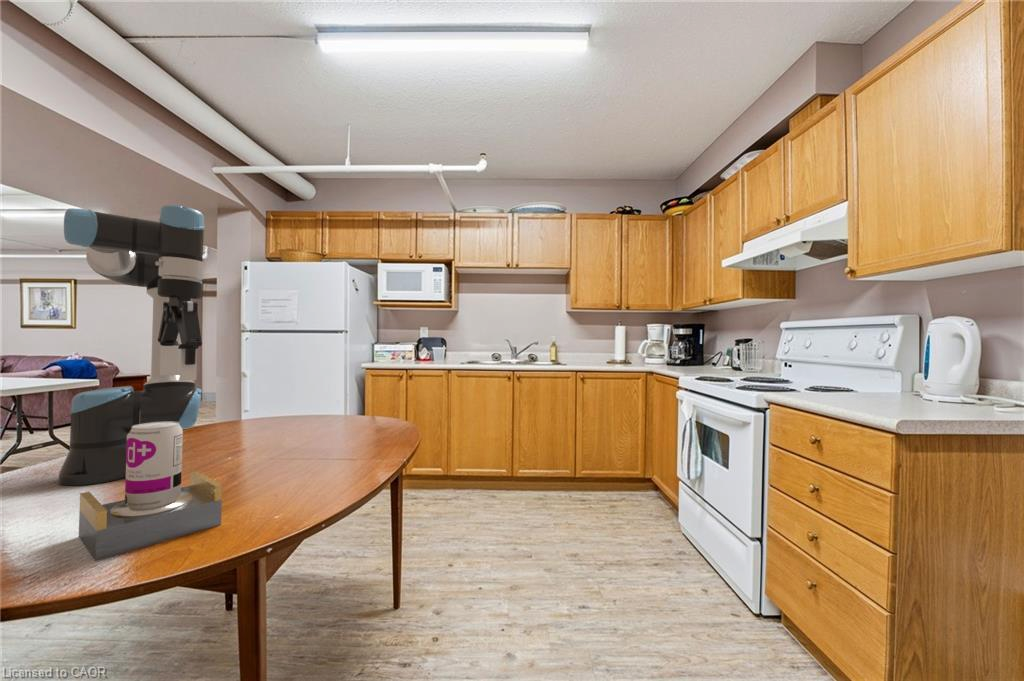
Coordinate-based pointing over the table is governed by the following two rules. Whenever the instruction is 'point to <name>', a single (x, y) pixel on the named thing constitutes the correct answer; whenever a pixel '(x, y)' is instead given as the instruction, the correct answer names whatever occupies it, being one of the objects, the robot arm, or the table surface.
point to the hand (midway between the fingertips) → (177, 377)
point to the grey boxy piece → (148, 519)
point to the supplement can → (153, 465)
